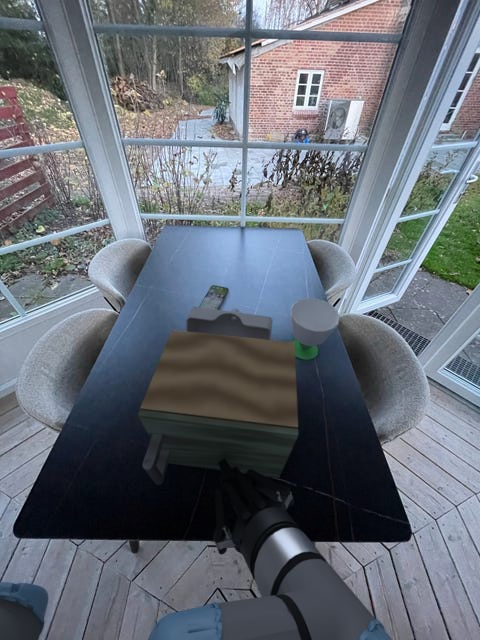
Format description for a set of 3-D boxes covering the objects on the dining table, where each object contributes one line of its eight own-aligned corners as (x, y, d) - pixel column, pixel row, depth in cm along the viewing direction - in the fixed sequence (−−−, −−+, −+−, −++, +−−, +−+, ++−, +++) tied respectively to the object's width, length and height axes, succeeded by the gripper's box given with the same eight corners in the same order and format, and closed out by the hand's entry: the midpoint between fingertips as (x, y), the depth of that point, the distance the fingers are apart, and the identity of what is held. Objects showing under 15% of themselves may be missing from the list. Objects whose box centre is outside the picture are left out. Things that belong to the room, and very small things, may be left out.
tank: (270, 329, 91) (274, 302, 83) (265, 367, 80) (270, 340, 71) (200, 319, 94) (197, 292, 85) (186, 354, 83) (181, 327, 74)
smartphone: (229, 288, 106) (217, 312, 95) (229, 290, 106) (217, 314, 96) (211, 284, 107) (197, 308, 96) (211, 287, 108) (198, 310, 97)
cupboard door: (278, 510, 55) (300, 476, 38) (155, 492, 57) (122, 453, 40) (279, 473, 60) (298, 429, 43) (165, 458, 61) (139, 409, 44)
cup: (332, 362, 82) (349, 327, 71) (290, 369, 80) (300, 334, 69) (315, 330, 91) (327, 295, 80) (277, 336, 89) (284, 300, 78)
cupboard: (279, 472, 60) (298, 427, 43) (165, 457, 62) (140, 408, 44) (279, 399, 73) (294, 342, 55) (185, 389, 74) (171, 330, 57)
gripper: (243, 627, 29) (199, 501, 51) (333, 552, 34) (257, 466, 56) (220, 566, 29) (186, 466, 51) (315, 498, 33) (245, 433, 55)
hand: (223, 466), depth 53 cm, fingers closed
